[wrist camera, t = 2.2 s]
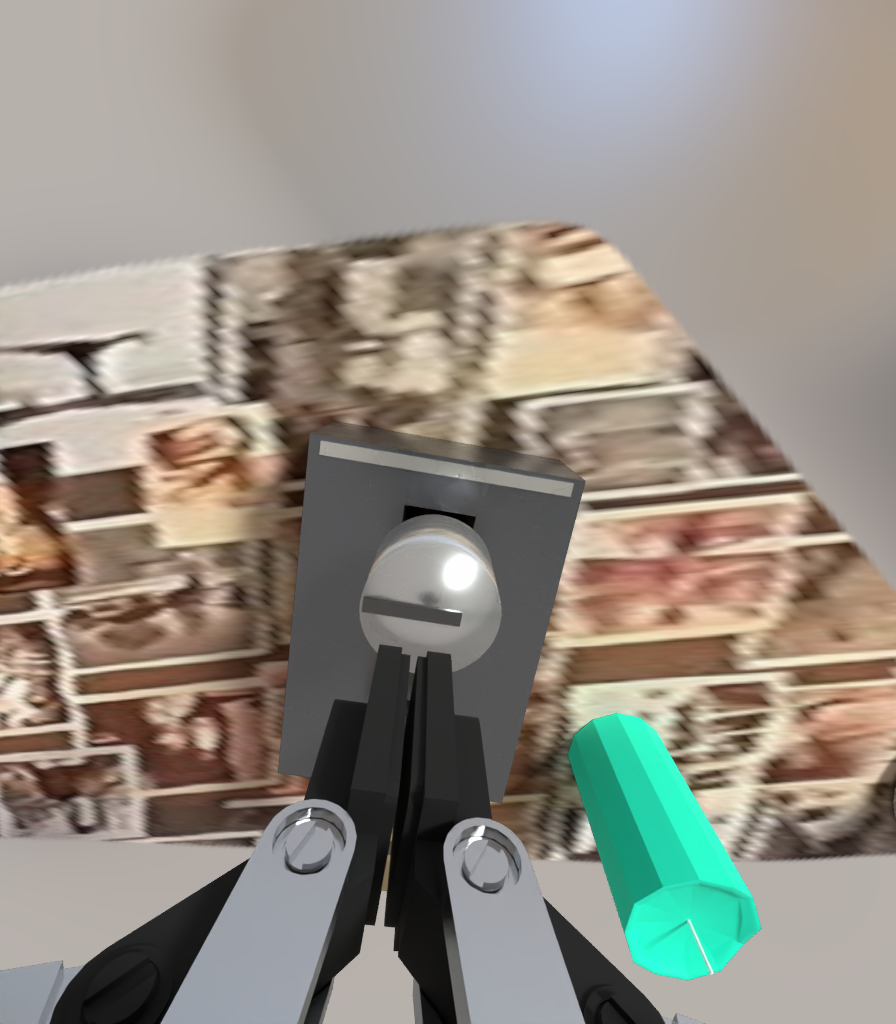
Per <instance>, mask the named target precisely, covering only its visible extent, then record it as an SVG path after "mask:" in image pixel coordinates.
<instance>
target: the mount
mask: <svg viewBox="0 0 896 1024" xmlns="http://www.w3.org/2000/svg"><path fill="white" fill-rule="evenodd" d="M584 485H585V480H584V479H582V478H581V477H580V476H579V475H577V474H576V473H575V472H574V471H572V470H571V469H570V468H569V467H567V466H566V465H565V464H564V463H562V462H561V461H560V460H556V459H550V458H544V457H539V456H533V455H527V454H521V453H515V452H510V451H504V450H498V449H492V448H487V447H481V446H475V445H469V444H464V443H458V442H452V441H446V440H441V439H435V438H429V437H423V436H418V435H412V434H406V433H400V432H395V431H389V430H383V429H377V428H371V427H366V426H360V425H354V424H348V423H343V422H337V421H335V422H333V423H331V424H329V425H327V426H325V427H322V428H320V429H318V430H316V431H314V432H312V433H310V438H309V448H308V459H307V470H306V480H305V491H304V502H303V512H302V523H301V534H300V544H299V555H298V566H297V576H296V587H295V597H294V608H293V619H292V629H291V640H290V651H289V661H288V672H287V683H286V693H285V704H284V715H283V725H282V736H281V746H280V757H279V768H278V773H281V774H289V775H296V776H304V777H311V775H312V772H313V769H314V765H315V762H316V759H317V755H318V752H319V749H320V745H321V742H322V739H323V735H324V732H325V729H326V725H327V722H328V719H329V715H330V712H331V709H332V705H333V703H334V700H335V699H339V700H347V701H355V702H363V703H368V699H369V694H370V689H371V684H372V679H373V674H374V669H375V664H376V659H377V654H378V653H377V652H376V651H375V650H374V649H373V648H372V646H371V645H370V644H369V642H368V640H367V638H366V636H365V634H364V632H363V629H362V626H361V621H360V613H359V609H360V600H361V595H362V592H363V590H364V587H365V584H366V581H367V579H368V576H369V573H370V570H371V568H372V565H373V562H374V559H375V557H376V554H377V551H378V549H379V546H380V545H381V543H382V541H383V540H384V538H385V537H386V535H387V534H388V533H389V532H390V531H391V530H392V529H394V528H395V527H396V526H397V525H399V524H401V523H402V522H404V521H406V515H407V508H408V505H410V506H416V507H422V508H428V509H434V510H440V511H446V512H452V513H458V514H464V515H465V520H464V523H465V524H466V525H468V526H469V527H471V528H472V529H473V530H474V531H475V532H476V533H477V534H478V535H479V536H480V537H481V539H482V540H483V542H484V543H485V545H486V547H487V549H488V552H489V555H490V558H491V563H492V567H493V571H494V575H495V579H496V583H497V588H498V592H499V596H500V600H501V608H502V609H501V622H500V627H499V630H498V633H497V635H496V637H495V639H494V641H493V643H492V644H491V646H490V647H489V648H488V649H487V651H486V652H485V653H484V654H483V655H482V656H481V657H480V658H479V659H477V660H476V661H474V662H473V663H472V664H470V665H468V666H466V667H464V668H462V669H460V670H457V671H454V672H452V680H453V698H454V714H456V715H464V716H471V717H478V719H479V721H480V727H481V735H482V743H483V751H484V759H485V767H486V775H487V784H488V792H489V800H490V801H492V802H499V803H502V800H503V796H504V793H505V789H506V785H507V781H508V777H509V773H510V769H511V766H512V762H513V758H514V754H515V750H516V746H517V743H518V739H519V735H520V731H521V727H522V723H523V719H524V716H525V712H526V708H527V704H528V700H529V696H530V693H531V689H532V685H533V681H534V677H535V673H536V669H537V666H538V662H539V658H540V654H541V650H542V646H543V643H544V639H545V635H546V631H547V627H548V623H549V620H550V616H551V612H552V608H553V604H554V600H555V596H556V593H557V589H558V585H559V581H560V577H561V573H562V570H563V566H564V562H565V558H566V554H567V550H568V546H569V543H570V539H571V535H572V531H573V527H574V523H575V520H576V516H577V512H578V508H579V504H580V500H581V496H582V493H583V489H584ZM413 679H414V673H411V672H409V681H408V693H407V700H410V695H411V690H412V684H413Z"/></svg>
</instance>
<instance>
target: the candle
mask: <svg viewBox="0 0 896 1024" xmlns="http://www.w3.org/2000/svg"><path fill="white" fill-rule="evenodd" d="M568 757H569V760H570V763H571V767H572V770H573V773H574V776H575V780H576V783H577V786H578V789H579V792H580V795H581V798H582V802H583V805H584V808H585V811H586V814H587V817H588V820H589V824H590V827H591V830H592V833H593V836H594V839H595V842H596V846H597V849H598V852H599V855H600V858H601V861H602V864H603V867H604V871H605V874H606V877H607V880H608V883H609V886H610V890H611V893H612V896H613V899H614V902H615V905H616V908H617V911H618V915H619V918H620V921H621V924H622V927H623V930H624V933H625V936H626V940H627V943H628V946H629V949H630V952H631V956H632V959H633V962H634V963H636V964H637V965H639V966H641V967H643V968H645V969H647V970H649V971H650V972H652V973H654V974H657V975H662V976H667V977H672V978H678V979H683V980H690V979H694V978H698V977H701V976H705V975H708V974H710V975H713V974H714V973H715V972H719V971H721V970H722V969H723V968H724V966H725V965H726V964H727V963H728V962H729V961H730V959H731V958H732V957H733V956H734V955H735V954H736V953H737V951H738V950H739V949H740V948H741V947H742V946H743V944H745V943H746V942H747V941H748V940H749V939H750V938H751V937H753V935H755V934H756V933H757V932H758V931H759V930H760V929H761V926H760V922H759V918H758V914H757V910H756V906H755V903H754V899H753V897H752V895H751V893H750V891H749V890H748V888H747V886H746V885H745V883H744V881H743V880H742V878H741V876H740V874H739V873H738V871H737V869H736V867H735V866H734V864H733V862H732V861H731V859H730V857H729V855H728V854H727V852H726V850H725V849H724V847H723V845H722V843H721V842H720V840H719V838H718V837H717V835H716V833H715V831H714V830H713V828H712V826H711V825H710V823H709V821H708V819H707V818H706V816H705V814H704V813H703V811H702V809H701V807H700V806H699V804H698V802H697V800H696V799H695V797H694V795H693V794H692V792H691V790H690V788H689V787H688V785H687V783H686V782H685V780H684V778H683V776H682V775H681V773H680V771H679V770H678V768H677V766H676V764H675V763H674V761H673V759H672V758H671V756H670V754H669V752H668V751H667V749H666V747H665V746H664V744H663V742H662V740H661V739H660V737H659V735H658V734H657V732H656V731H655V730H654V729H653V728H652V727H650V726H649V725H648V724H647V723H646V722H645V721H643V720H642V719H641V718H639V717H634V716H628V715H623V714H618V713H616V714H612V715H609V716H605V717H601V718H597V719H593V720H592V721H590V722H589V723H588V724H587V725H586V726H585V727H583V728H582V729H581V730H580V731H579V732H577V733H576V734H575V735H574V738H573V741H572V744H571V747H570V749H569V752H568Z"/></svg>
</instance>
